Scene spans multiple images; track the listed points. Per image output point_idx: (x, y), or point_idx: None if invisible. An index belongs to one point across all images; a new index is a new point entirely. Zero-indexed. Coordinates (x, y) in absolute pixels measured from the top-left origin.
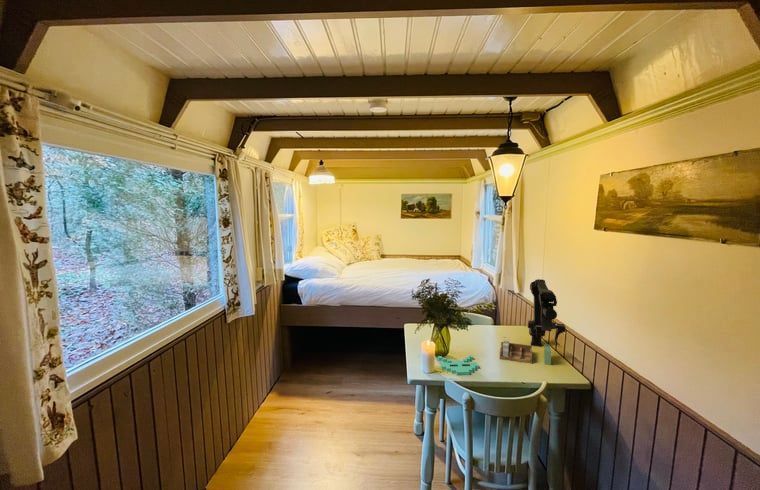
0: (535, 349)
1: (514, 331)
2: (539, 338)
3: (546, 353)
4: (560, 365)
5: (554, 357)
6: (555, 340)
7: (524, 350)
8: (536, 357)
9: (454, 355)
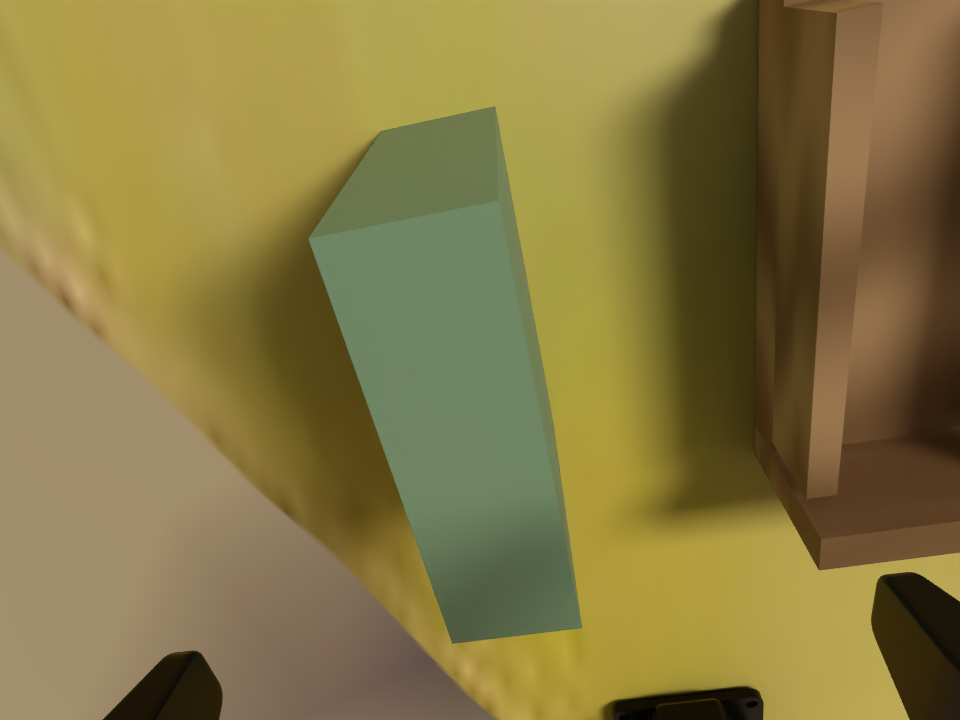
0: (695, 606)
1: None
2: None
3: (452, 183)
4: (230, 227)
5: None
6: (126, 716)
7: (911, 443)
8: (670, 352)
9: None
